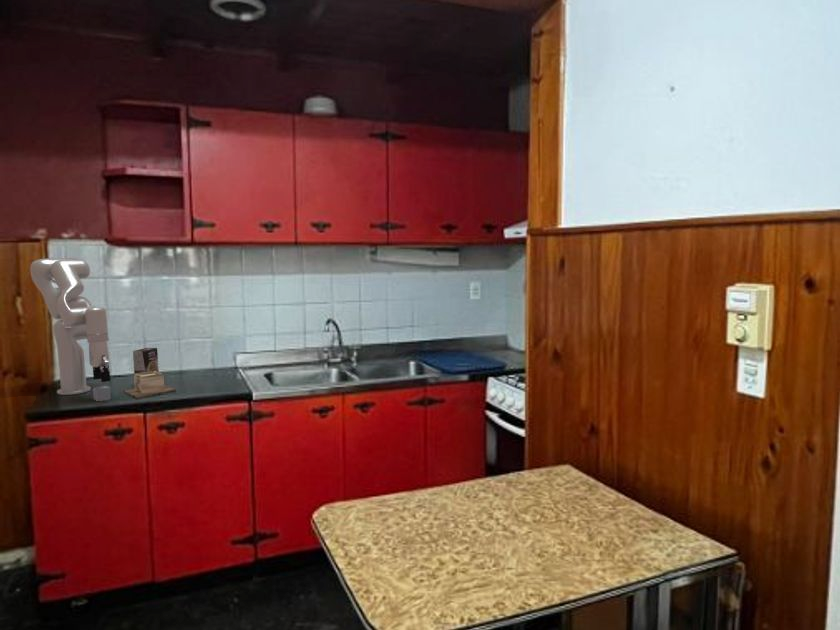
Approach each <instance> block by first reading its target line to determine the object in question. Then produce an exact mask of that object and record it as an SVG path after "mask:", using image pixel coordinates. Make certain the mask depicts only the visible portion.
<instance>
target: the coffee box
mask: <svg viewBox="0 0 840 630" xmlns="http://www.w3.org/2000/svg"><path fill="white" fill-rule="evenodd" d="M132 356H133V359H132V360H133V361H132V362H133V375H134V374H138V373H144V372H151V371H156V372H159V373H160V370H159V357H158V356H159V355H158V348H157V347H145V348H144V347H143V348H140V349H136V350H132Z"/></svg>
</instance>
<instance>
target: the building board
mask: <svg viewBox="0 0 840 630" xmlns="http://www.w3.org/2000/svg"><path fill="white" fill-rule="evenodd" d="M133 375H134V376H133V386H134V388H128V389H123V390H122V392H124V393H123V394H125V393H126V395H127V394H128V395H127V396H129V395H130V397H131V396H133V397H132V398H134V397H135V398H134V399H136V398H140V399H143V398H142V397H146V398H149V397H148V396H151V397H154V396H153V395H157V394H162V395H164V394H163V393H168V394H170V393H169V392H173V393H176V392H177V390H176V388H172V387H170V386H168V385H165V379H164V378H165V377H164V375H163V373H162V372H160V371H159V372H156V371H151V372H144V373H138V374H134V373H133ZM175 391H176V392H175ZM157 396H158V395H157Z"/></svg>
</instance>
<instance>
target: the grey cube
mask: <svg viewBox="0 0 840 630" xmlns="http://www.w3.org/2000/svg"><path fill="white" fill-rule="evenodd" d="M92 394H93V400H94V401H95V400H96V402H97V401H100V402H103V400H105V401H109V399H111V400H112V395H111V394H112V393H111V387H110V386H108V385H102V386H96V387H92Z"/></svg>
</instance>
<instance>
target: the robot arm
mask: <svg viewBox="0 0 840 630" xmlns="http://www.w3.org/2000/svg"><path fill="white" fill-rule="evenodd" d="M29 269H30V270H29V272H30V276H31V280H32V282H33V283H34V285H35V287H36V288H37V289H38V290H39V292H40V293H41V296H42V297H43V299H44V302H45V304H46V305H45V306H47V310H48V312H49V314H50V315H51V317H52V318H53V319H54V320H56V322H55V323H54V324H53V326H52V329H53V330H52V332H53V336H54V339H55V343H56V347H57V354H58V355H57V357H58V367H59V369H58V370H59V379H60V381H59V382H60V388H59V389H57V390H56V394H58V395H61V396H64V395H65V396H67V395H70V396H71V395H78V394H79V395H80V394H84V393H88V392H90V391H91V389H92V388H91V386H89V385H87V376H86V364H85V363H86V361H85V352H84V349H83V347H82V346H81V345H80V344H79V343H78V341H81V340H87V343H88V356H89V357H88V360H89V365H90V366H91V367H92V375H93V379H94V380H99V379H100V380H101V381H100V382H102V383H106V382H110V381H111V372H110V355H109V354H110V353H109V349H108V348H109V347H108V342H109V339H110V338H109V331H108V330H109V329H108V320H107V311H106V308H104V307H100V306H99V307H98V306H92V304H91V302H90V300H89V299H88V298H87V297H85V296H82V295H81V294H82V293H83V292H84V289H85V286H84V284H83V282H82V280H85V279H87V278H88V277H89V276H90V274H91V269H90V265H89V264H88V262H87V261H86V260H84V259H83V258H76V257H75V258H73V257H57V258H54V257H53V258H52V257H51V258H49V257H48V258H47V257H46V258H40V259H36V260H33V262H31V264H30V268H29ZM81 279H82V280H81ZM80 295H81V296H80Z"/></svg>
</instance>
